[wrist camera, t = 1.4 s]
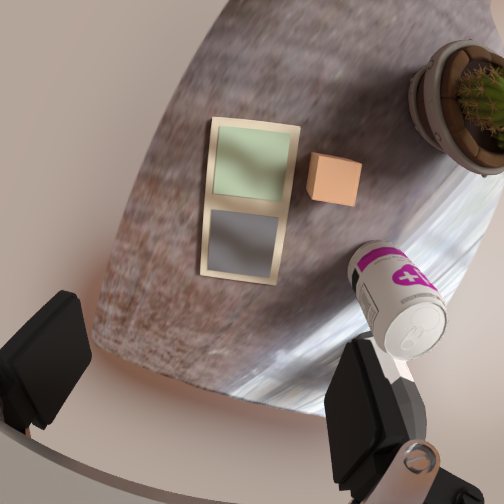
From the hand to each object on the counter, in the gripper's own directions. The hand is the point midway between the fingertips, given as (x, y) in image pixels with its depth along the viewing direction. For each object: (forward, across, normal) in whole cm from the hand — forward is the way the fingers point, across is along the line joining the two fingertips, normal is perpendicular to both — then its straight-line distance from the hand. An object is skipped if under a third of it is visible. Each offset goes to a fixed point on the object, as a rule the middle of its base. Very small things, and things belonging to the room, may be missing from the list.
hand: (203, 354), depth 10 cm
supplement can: (+29, -18, +8) cm, 34 cm away
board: (+28, +1, +2) cm, 28 cm away
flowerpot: (+29, -22, -16) cm, 39 cm away
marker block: (+28, -8, -3) cm, 30 cm away
